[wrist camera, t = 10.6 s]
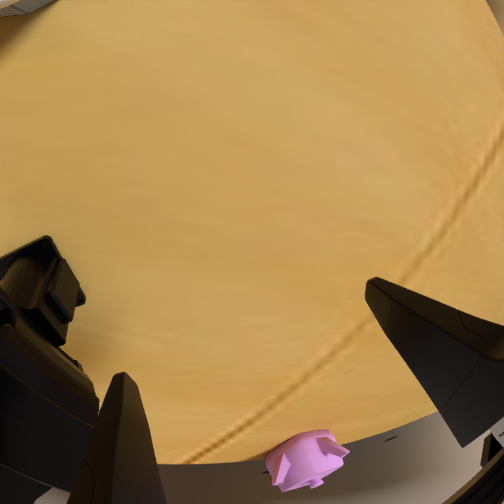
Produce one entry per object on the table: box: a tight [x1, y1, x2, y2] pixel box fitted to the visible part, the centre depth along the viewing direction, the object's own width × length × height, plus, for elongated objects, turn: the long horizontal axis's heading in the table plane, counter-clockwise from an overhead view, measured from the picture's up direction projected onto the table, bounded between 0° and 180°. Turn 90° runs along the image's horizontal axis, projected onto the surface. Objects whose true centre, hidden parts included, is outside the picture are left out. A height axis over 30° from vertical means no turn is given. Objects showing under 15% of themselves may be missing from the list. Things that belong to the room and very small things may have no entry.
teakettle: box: [265, 429, 349, 492], centre depth 52 cm, size 17×17×12 cm
